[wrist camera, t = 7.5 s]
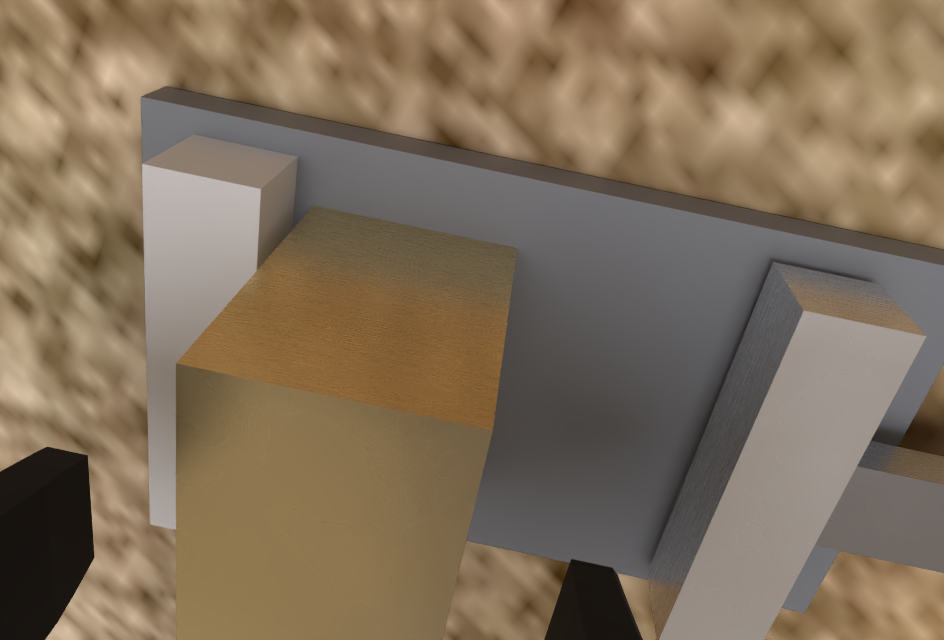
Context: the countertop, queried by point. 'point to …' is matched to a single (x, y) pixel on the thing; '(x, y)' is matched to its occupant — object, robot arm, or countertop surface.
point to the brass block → (338, 434)
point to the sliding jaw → (797, 461)
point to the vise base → (514, 306)
